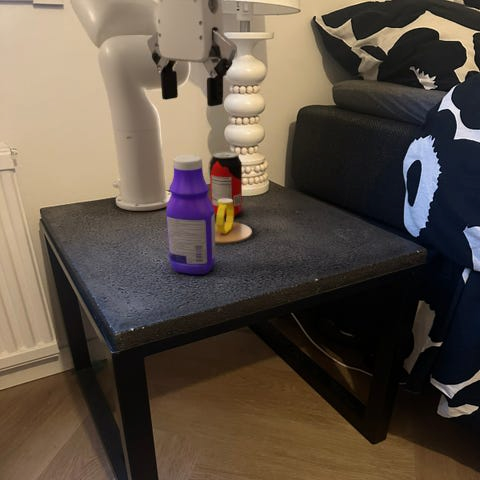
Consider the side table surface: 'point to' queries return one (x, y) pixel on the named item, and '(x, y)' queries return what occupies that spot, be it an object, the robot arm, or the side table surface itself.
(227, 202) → the watch
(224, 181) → the beverage can
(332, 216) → the side table surface
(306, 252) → the side table surface
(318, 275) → the side table surface
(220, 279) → the side table surface
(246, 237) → the coaster
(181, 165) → the bottle
